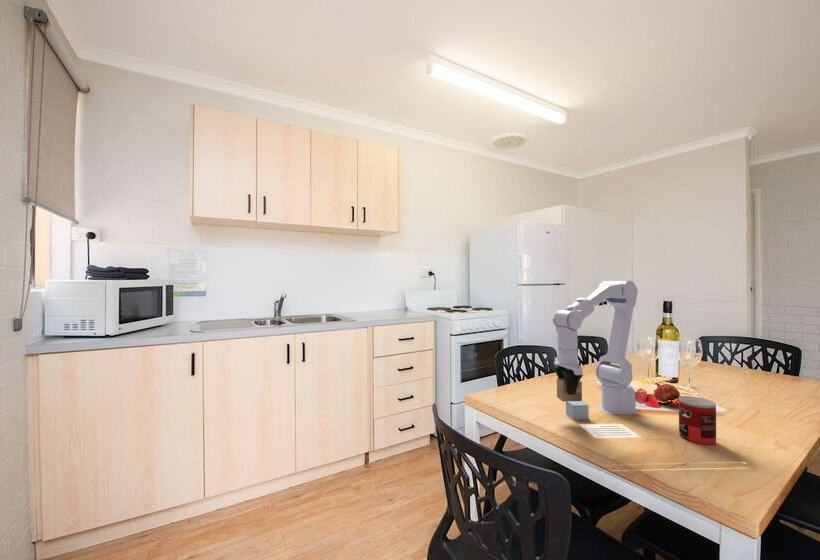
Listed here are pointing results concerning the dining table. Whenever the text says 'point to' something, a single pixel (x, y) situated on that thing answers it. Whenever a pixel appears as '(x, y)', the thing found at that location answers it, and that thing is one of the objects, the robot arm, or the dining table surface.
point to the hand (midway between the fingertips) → (567, 391)
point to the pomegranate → (666, 392)
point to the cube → (577, 409)
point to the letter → (609, 431)
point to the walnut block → (563, 393)
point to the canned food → (697, 420)
